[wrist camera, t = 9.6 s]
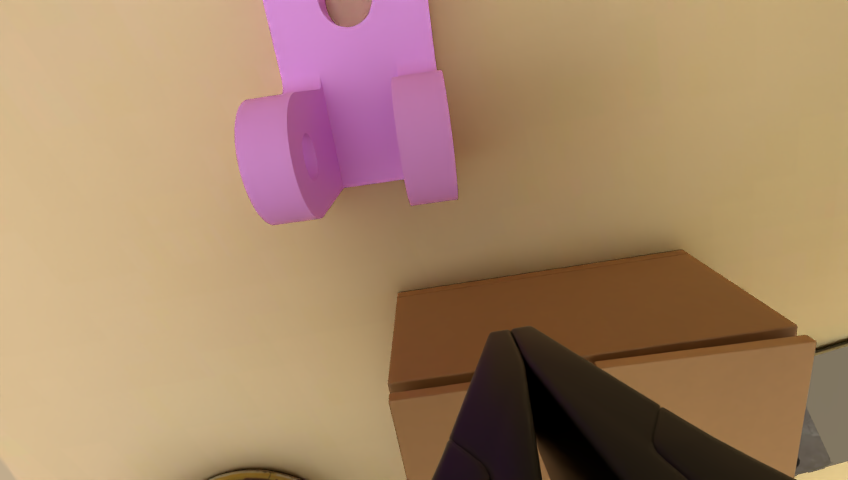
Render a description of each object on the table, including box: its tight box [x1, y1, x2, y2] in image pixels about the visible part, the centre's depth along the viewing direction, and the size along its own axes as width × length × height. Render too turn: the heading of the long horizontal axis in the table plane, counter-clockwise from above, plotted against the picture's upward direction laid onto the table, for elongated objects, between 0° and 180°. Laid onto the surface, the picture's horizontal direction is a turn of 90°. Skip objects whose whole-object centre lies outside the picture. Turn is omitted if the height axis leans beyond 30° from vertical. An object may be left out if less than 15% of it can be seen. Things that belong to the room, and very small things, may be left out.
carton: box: [388, 250, 797, 480], centre depth 19 cm, size 13×16×7 cm
